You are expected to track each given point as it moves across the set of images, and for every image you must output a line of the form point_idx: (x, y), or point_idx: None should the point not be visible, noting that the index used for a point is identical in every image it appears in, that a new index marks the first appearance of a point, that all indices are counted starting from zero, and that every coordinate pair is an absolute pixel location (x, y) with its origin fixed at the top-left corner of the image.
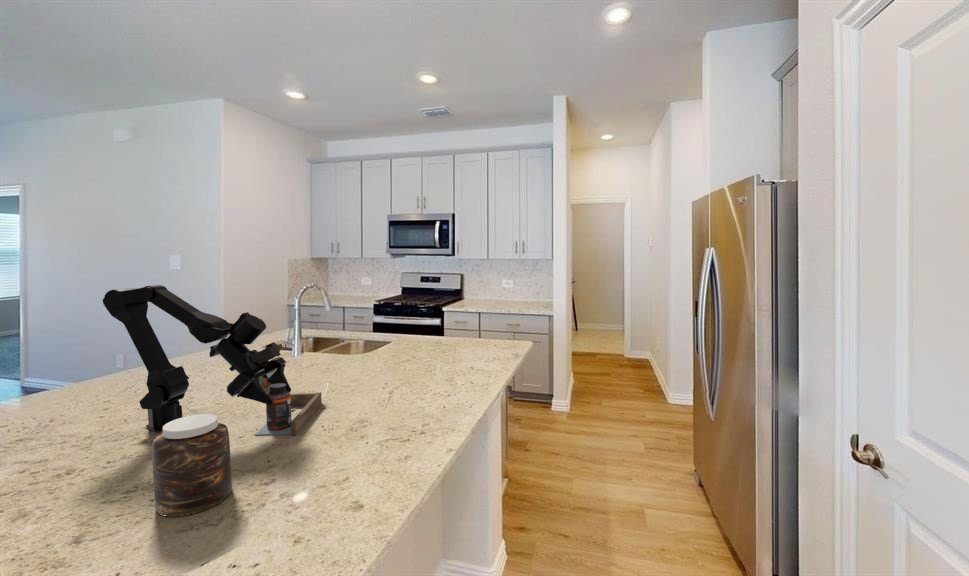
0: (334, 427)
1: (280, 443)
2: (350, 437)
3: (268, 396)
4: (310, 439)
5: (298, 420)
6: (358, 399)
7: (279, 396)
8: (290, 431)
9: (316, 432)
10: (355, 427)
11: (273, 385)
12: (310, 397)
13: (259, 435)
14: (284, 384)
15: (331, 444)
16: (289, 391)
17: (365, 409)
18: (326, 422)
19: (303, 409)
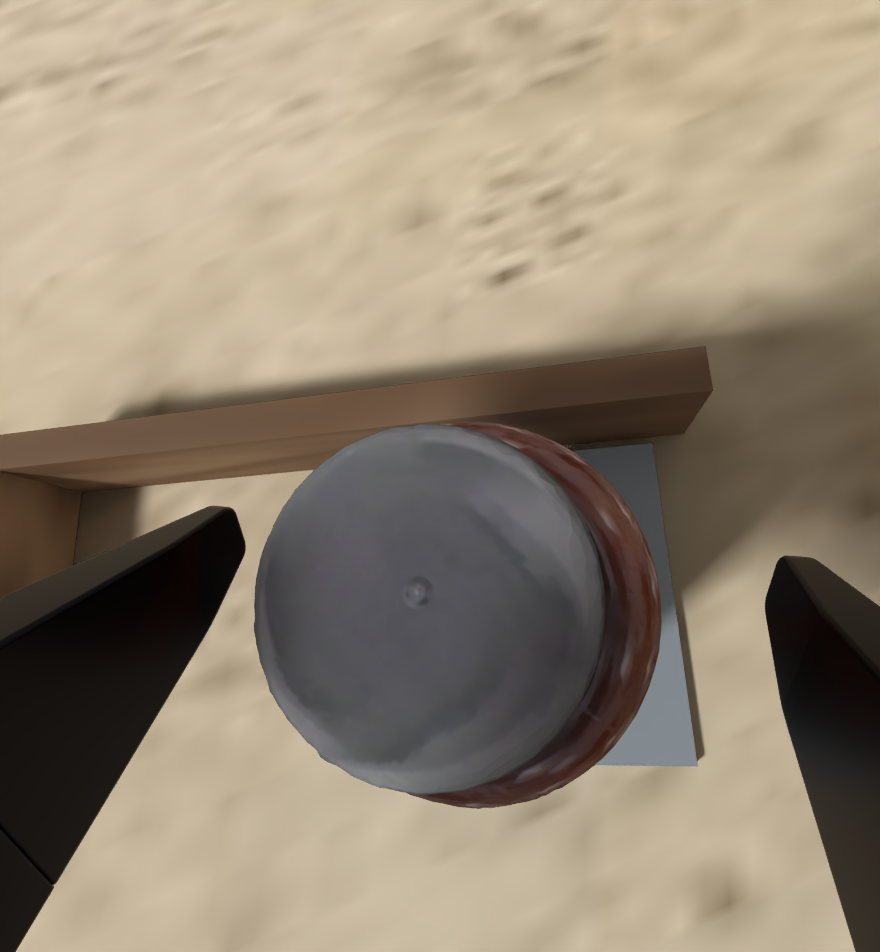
0: (530, 193)
1: (845, 455)
2: (705, 30)
3: (861, 628)
4: (751, 262)
5: (622, 362)
6: (49, 241)
7: (609, 507)
8: (624, 463)
9: (618, 274)
10: (536, 68)
11: (424, 699)
12: (15, 526)
13: (690, 719)
14: (373, 458)
15: (832, 91)
16: (237, 529)
17: (235, 130)
18: (434, 282)
19: (372, 416)
